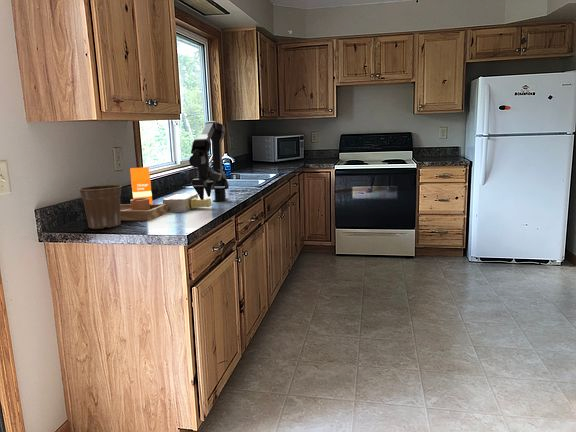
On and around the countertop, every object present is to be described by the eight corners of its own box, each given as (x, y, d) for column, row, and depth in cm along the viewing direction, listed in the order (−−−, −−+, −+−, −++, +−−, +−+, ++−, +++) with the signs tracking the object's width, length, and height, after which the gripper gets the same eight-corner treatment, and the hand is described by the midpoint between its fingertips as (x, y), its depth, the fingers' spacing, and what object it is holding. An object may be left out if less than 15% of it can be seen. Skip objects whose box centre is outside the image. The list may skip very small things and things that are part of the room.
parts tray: (115, 212, 214) (114, 204, 213) (167, 212, 209) (167, 204, 208) (94, 220, 197) (93, 211, 196) (150, 220, 192) (149, 211, 192)
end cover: (181, 206, 220) (180, 197, 219) (212, 206, 217) (211, 197, 217) (177, 208, 215) (176, 199, 214) (208, 208, 212) (207, 199, 212)
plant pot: (98, 222, 193) (93, 184, 190) (133, 221, 191) (129, 184, 187) (75, 230, 177) (69, 190, 174) (112, 230, 175) (107, 189, 172)
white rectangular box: (177, 205, 226) (176, 194, 225) (198, 205, 224) (197, 193, 223) (163, 211, 211) (162, 199, 210) (185, 211, 209) (184, 199, 208)
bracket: (142, 211, 213) (141, 197, 211) (154, 213, 208) (152, 198, 207) (109, 219, 198) (107, 203, 197) (120, 220, 194) (118, 205, 192)
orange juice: (153, 208, 223) (149, 167, 219) (134, 209, 220) (130, 168, 216) (152, 205, 231) (148, 166, 227) (133, 207, 228) (129, 167, 224)
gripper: (212, 166, 201) (215, 201, 204) (225, 163, 219) (227, 195, 222) (189, 167, 203) (192, 201, 206) (204, 163, 221) (206, 195, 224)
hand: (205, 198), depth 215 cm, fingers open, 9 cm apart
